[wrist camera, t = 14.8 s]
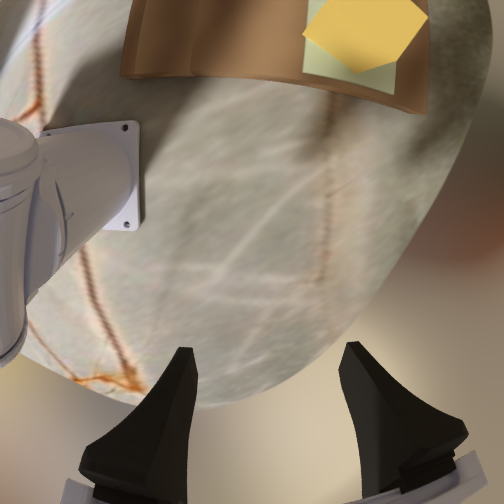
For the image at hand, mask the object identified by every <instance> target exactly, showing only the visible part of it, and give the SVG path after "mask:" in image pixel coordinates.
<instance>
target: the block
mask: <svg viewBox="0 0 504 504" xmlns="http://www.w3.org/2000/svg"><path fill="white" fill-rule="evenodd" d="M427 18H428V16H427V15H426V14H425V13H424V12H423V11H422V10H420V9H419V8H418V7H417V6H416V5H415V4H414V3H413V2H412V1H411V0H328V1H327V2H326V3H325V4H324V5H323V6H322V8H321V9H320V10H319V12H318V13H317V14H316V16H315V17H314V18H313V20H312V21H311V22H310V24H309V25H308V27H307V28H306V29H305V31H304V32H303V34H302V35H303V36H305V37H306V38H308V39H309V40H311V41H312V42H314V43H315V44H317V45H318V46H320V47H321V48H322V49H324V50H325V51H327V52H328V53H329V54H331V55H332V56H333V57H335V58H336V59H337V60H339V61H340V62H341V63H343V64H344V65H345V66H346V67H348V68H349V69H350V70H351V71H353V72H354V73H355V74H358V73H361V72H364V71H367V70H370V69H373V68H376V67H379V66H382V65H385V64H388V63H391V62H395V61H397V60H398V58H399V57H400V56H401V54H402V53H403V51H404V50H405V49H406V47H407V46H408V45H409V43H410V42H411V40H412V39H413V38H414V36H415V35H416V34H417V32H418V31H419V29H420V28H421V27H422V25H423V24H424V23H425V21H426V20H427Z"/></svg>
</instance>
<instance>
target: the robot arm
mask: <svg viewBox="0 0 504 504" xmlns="http://www.w3.org/2000/svg"><path fill="white" fill-rule="evenodd" d="M125 124H127V125H128V130H127V131H125V130H124V125H125ZM49 134H50V135H51V136H49ZM139 137H140V124H139V123H138V122H137V121H135V120H129V121H115V122H104V123H94V124H86V125H78V126H71V127H64V128H58V129H52V130H47V131H42V132H39V133H38V134H37V136H36V139H35V138H34V136H33V134H32V133H31V132H30V131H29V130H28V129H27V128H25V127H24V126H22V125H20V124H18V123H15V122H13V121H10V120H7V119H3V118H0V369H1V368H3V367H4V366H6V365H7V364H9V363H10V362H11V361H12V360H13V359H14V358H15V357H16V356H17V355H18V353H19V352H20V350H21V348H22V346H23V344H24V342H25V339H26V335H27V329H28V319H27V312H26V306H25V305H27V304H28V303H29V302H30V301H31V300H32V299H33V298H34V296H35V295H36V294H37V293H38V288H40V287H41V286H42V285H43V284H45V283H46V282H47V281H48V280H49V279H50V278H51V277H52V276H53V275H54V274H55V273H56V272H57V271H58V270H59V269H60V268H61V267H62V266H63V265H64V264H65V263H66V262H67V261H68V260H69V259H70V258H71V257H72V256H73V255H74V254H75V253H76V252H77V251H78V250H79V249H80V248H81V247H82V246H83V245H84V244H85V243H86V242H87V241H89V240H90V239H91V238H92V237H93V236H94V235H95V234H96V233H97V232H98V231H100V230H101V229H105V230H123V231H136V230H138V229H139V227H140V224H141V223H140V201H139ZM126 221H127V222H129V224H130V226H127V225H126V223H125V222H126ZM338 370H339V376H340V382H341V387H342V390H343V393H344V396H345V399H346V402H347V405H348V408H349V411H350V414H351V417H352V420H353V424H354V427H355V431H356V437H357V442H358V448H359V456H360V464H361V476H362V498H363V499H361V500H357V501H354V502H349V503H345V504H460V503H461V502H463V501H465V500H466V499H468V498H469V497H471V496H472V495H474V494H475V493H477V492H478V491H480V490H481V489H483V488H484V487H486V486H487V485H488V482H487V479H486V477H485V474H484V472H483V469H482V466H481V464H480V462H479V459H478V457H477V454H476V452H475V450H473V451H471V452H469V453H468V454H466V455H464V456H462V457H460V458H459V459H457V460H456V461H454V460H453V457H454V456H455V453H454V449H455V448H456V447H458V446H459V445H460V444H461V443H462V442H463V441H464V440H465V439H466V438H467V437H468V435H469V433H468V431H467V429H466V427H465V424H464V422H463V421H462V420H460V419H458V418H455V417H453V416H450V415H448V414H446V413H443V412H441V411H439V410H437V409H436V408H433V407H432V406H430V405H429V404H427V403H425V402H424V401H422V400H421V399H419V398H418V397H416V396H415V395H413V394H412V393H411V392H409V391H408V390H407V389H406V388H404V387H403V386H402V385H401V384H400V383H399V382H397V381H396V380H395V379H394V378H393V377H392V376H391V375H390V374H389V373H388V372H387V371H386V370H385V369H384V368H383V367H382V366H381V365H380V364H379V363H378V362H377V361H376V360H375V359H374V357H373V356H372V355H371V354H370V353H369V352H368V351H367V350H366V349H365V348H364V347H363V345H361V343H360V342H359V341H355V342H347V344H346V347H345V350H344V354H343V357H342V360H341V363H340V366H339V369H338ZM197 384H198V372H197V368H196V363H195V358H194V353H193V348H189V347H179V348H178V349H177V351H176V353H175V354H174V356H173V358H172V360H171V361H170V363H169V365H168V366H167V368H166V369H165V371H164V372H163V374H162V375H161V377H160V378H159V380H158V381H157V383H156V384H155V385H154V387H153V388H152V389H151V391H150V392H149V393H148V395H147V396H146V397H145V398H144V399H143V400H142V402H141V403H140V404H139V405H138V406H137V407H136V408H135V409H134V410H133V411H132V412H131V413H130V414H129V415H128V416H127V417H126V418H125V419H124V420H123V421H122V422H121V423H119V424H118V425H117V426H116V427H114V428H113V429H112V430H111V431H109V432H108V433H107V434H105V435H104V436H102V437H101V438H99V439H98V440H96V441H95V442H93V443H91V444H90V445H88V446H87V447H86V449H85V451H84V453H83V455H82V459H81V462H80V465H79V469H78V470H79V471H80V473H81V474H82V475H83V476H85V477H86V478H88V479H89V480H90V481H92V482H93V483H95V487H94V488H92V487H90V486H87V485H84V484H82V483H79V482H77V481H74V480H71V479H69V478H68V479H67V480H66V483H65V488H64V491H63V495H62V499H61V503H60V504H187V458H188V440H189V432H190V427H191V422H192V416H193V411H194V406H195V401H196V395H197Z"/></svg>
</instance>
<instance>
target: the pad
mask: <svg viewBox="0 0 504 504" xmlns="http://www.w3.org/2000/svg"><path fill="white" fill-rule="evenodd" d="M327 1H328V0H308V12H307V25H306V28H307V27H308V25H309V24H310V22H311V21H312V20H313V18H314V17H315V16H316V14H317V13H318V12H319V10H320V9H321V8H322V6H323V5H324V4H325V3H326V2H327ZM302 72H303V73H309V74H314V75H319V76H324V77H329V78H333V79H337V80H342V81H346V82H350V83H353V84H357V85H361V86H364V87H368V88H371V89H375V90H378V91H381V92H384V93H387V94H390V95H394V88H395V75H396V61H395V62H391V63H388V64H385V65H382V66H379V67H376V68H373V69H370V70H367V71H364V72H361V73H358V74H355V73H354V72H353V71H351V70H350V69H349V68H348V67H346V66H345V65H344V64H343V63H341V62H340V61H339V60H337V59H336V58H335V57H333V56H332V55H331V54H329V53H328V52H327V51H325V50H324V49H322V48H321V47H320V46H318V45H317V44H315V43H314V42H312V41H311V40H309V39H308V38H306V37H305V48H304V59H303V69H302Z"/></svg>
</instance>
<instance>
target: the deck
mask: <svg viewBox="0 0 504 504" xmlns="http://www.w3.org/2000/svg"><path fill="white" fill-rule="evenodd" d="M411 1H412V2H413V3H414V4H415V5H416V6H417V7H418V8H419V9H420V10H422V11H423V12H424V13H425V14H426V15H427V16H428V4H427V0H411ZM307 12H308V0H133V2H132V6H131V11H130V15H129V20H128V25H127V30H126V36H125V42H124V48H123V55H122V62H121V70H120V76H121V77H124V78H128V79H131V80H134V79H145V78H159V77H189V76H201V77H232V78H246V79H257V80H267V81H275V82H283V83H290V84H297V85H303V86H308V87H314V88H319V89H324V90H329V91H334V92H338V93H342V94H347V95H351V96H355V97H358V98H362V99H366V100H370V101H373V102H376V103H380V104H383V105H386V106H389V107H393V108H396V109H399V110H402V111H404V112H407V113H410V114H422V115H426V111H427V101H428V87H429V64H430V38H429V17H428V18H427V20H426V21H425V23H424V24H423V25H422V27H421V28H420V29H419V31H418V32H417V34H416V35H415V36H414V38H413V39H412V40H411V42H410V43H409V45H408V46H407V47H406V49H405V50H404V51H403V53H402V54H401V56H400V57H399V58H398V60H397V61H396V75H395V88H394V95H390V94H387V93H384V92H381V91H378V90H375V89H371V88H368V87H364V86H361V85H357V84H353V83H350V82H346V81H342V80H337V79H333V78H329V77H324V76H319V75H314V74H309V73H303V72H302V69H303V59H304V48H305V36H303V35H302V34H303V32H304V31H305V29H306V25H307Z"/></svg>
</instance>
